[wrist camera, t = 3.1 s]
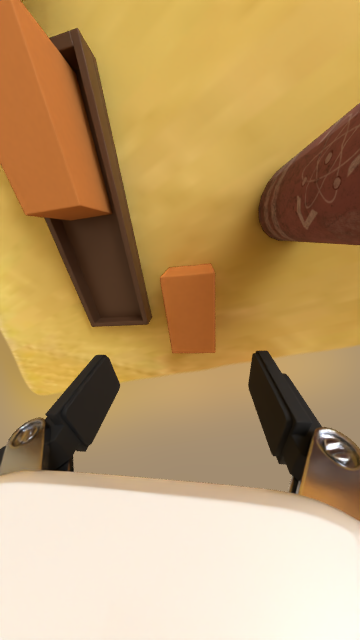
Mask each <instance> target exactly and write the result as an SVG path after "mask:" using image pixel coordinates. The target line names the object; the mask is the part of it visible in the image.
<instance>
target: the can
mask: <svg viewBox="0 0 360 640" xmlns="http://www.w3.org/2000/svg"><path fill="white" fill-rule="evenodd" d="M259 221H260V224H261V226H262V229H263V231H264V232H265V233H266V234H267V235H268V236H269V237H271V238H274V239H276V240H281V241H298V242H315V243H331V244H348V245H360V103H359V104H358V105H357V106H355V107H354V108H353V109H352V110H351V111H349V112H348V113H347V114H346V115H345V116H343V117H342V118H341V119H340V120H338V121H337V122H336V123H335V124H334V125H332V126H331V127H330V128H329V129H328V130H326V131H325V132H324V133H323V134H322V135H320V136H319V137H318V138H317V139H315V140H314V141H313V142H312V143H311V144H309V145H308V146H307V147H306V148H305V149H303V150H302V151H301V152H300V153H299V154H297V155H296V156H295V157H294V158H292V159H291V160H290V161H289V162H288V163H286V164H285V165H284V166H283V167H282V168H280V169H279V170H278V171H277V172H276V173H275V174H274V176H273V177H272V178H271V179H270V181H269V182H268V183H267V185H266V187H265V190H264V192H263V194H262V196H261V200H260V205H259Z"/></svg>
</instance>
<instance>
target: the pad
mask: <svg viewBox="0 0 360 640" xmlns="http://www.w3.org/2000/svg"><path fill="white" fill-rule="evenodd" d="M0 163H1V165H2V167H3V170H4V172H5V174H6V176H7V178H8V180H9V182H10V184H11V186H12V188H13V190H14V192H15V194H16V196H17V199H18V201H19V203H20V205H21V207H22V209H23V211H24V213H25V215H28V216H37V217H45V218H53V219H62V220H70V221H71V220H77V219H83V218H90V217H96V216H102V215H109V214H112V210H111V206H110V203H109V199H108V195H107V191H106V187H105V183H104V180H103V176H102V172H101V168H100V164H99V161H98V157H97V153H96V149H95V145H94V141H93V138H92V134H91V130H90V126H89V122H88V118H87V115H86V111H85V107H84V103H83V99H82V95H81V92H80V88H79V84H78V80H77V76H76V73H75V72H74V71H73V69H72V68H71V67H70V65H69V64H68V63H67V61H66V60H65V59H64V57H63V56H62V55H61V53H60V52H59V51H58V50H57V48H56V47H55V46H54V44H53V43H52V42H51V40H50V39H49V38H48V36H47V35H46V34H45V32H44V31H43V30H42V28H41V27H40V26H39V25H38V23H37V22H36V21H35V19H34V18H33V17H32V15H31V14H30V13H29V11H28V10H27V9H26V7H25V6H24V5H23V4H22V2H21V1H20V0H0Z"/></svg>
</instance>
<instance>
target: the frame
mask: <svg viewBox="0 0 360 640" xmlns="http://www.w3.org/2000/svg"><path fill="white" fill-rule="evenodd" d="M49 39H50V40H51V42H52V43H53V44H54V46H55V47H56V48H57V50H58V51H59V52H60V53H61V55H62V56H63V57H64V59H65V60H66V61H67V63H68V64H69V65H70V67H71V68H72V69H73V71H74V72H75V73H76V76H77V80H78V84H79V88H80V92H81V95H82V99H83V103H84V107H85V111H86V115H87V118H88V122H89V126H90V130H91V134H92V138H93V141H94V145H95V149H96V153H97V157H98V161H99V164H100V168H101V172H102V176H103V180H104V183H105V187H106V191H107V195H108V199H109V203H110V206H111V210H112V214H109V215H102V216H96V217H90V218H83V219H77V220H71V221H70V220H62V219H53V218H45V217H44V218H45V221H46V223H47V225H48V227H49V230H50V232H51V234H52V236H53V239H54V241H55V243H56V246H57V248H58V250H59V252H60V255H61V257H62V259H63V262H64V264H65V266H66V268H67V271H68V273H69V275H70V278H71V280H72V282H73V284H74V287H75V289H76V291H77V294H78V296H79V298H80V300H81V303H82V305H83V307H84V310H85V312H86V314H87V316H88V319H89V321H90V323H91V326H92V327H98V326H122V325H147V324H149V322H150V320H151V318H152V315H151V311H150V306H149V301H148V297H147V292H146V288H145V283H144V279H143V274H142V269H141V265H140V260H139V256H138V251H137V247H136V242H135V237H134V233H133V228H132V224H131V219H130V214H129V210H128V205H127V201H126V196H125V192H124V187H123V182H122V178H121V173H120V169H119V164H118V160H117V155H116V150H115V146H114V141H113V137H112V132H111V128H110V123H109V118H108V114H107V109H106V105H105V100H104V96H103V91H102V86H101V82H100V77H99V73H98V68H97V64H96V59H95V57H94V55H93V54H92V52H91V50H90V48H89V47H88V45H87V43H86V42H85V40H84V38H83V36H82V35H81V33H80V31H79V30H78V28H76V29H73V30H70V31H67V32H65V33H62V34H59V35H57V36H54V37H51V38H49Z"/></svg>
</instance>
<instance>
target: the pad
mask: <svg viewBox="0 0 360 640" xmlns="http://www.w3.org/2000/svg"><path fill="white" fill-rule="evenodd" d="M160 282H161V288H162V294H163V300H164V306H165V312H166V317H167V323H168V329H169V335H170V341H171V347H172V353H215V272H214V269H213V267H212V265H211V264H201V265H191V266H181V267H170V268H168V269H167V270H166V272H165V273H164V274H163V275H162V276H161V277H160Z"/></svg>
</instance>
